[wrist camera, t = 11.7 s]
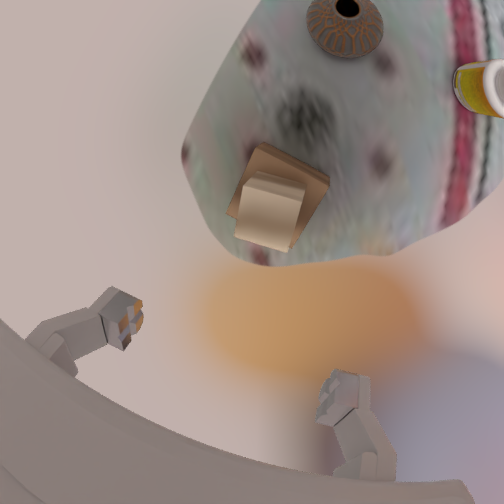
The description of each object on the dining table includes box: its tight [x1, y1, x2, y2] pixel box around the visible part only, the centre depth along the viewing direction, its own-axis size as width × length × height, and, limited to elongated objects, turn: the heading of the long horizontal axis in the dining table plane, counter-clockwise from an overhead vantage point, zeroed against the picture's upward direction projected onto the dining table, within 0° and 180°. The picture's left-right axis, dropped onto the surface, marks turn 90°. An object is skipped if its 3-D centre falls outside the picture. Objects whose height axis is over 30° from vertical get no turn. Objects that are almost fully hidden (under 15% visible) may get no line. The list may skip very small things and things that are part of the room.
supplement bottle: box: [453, 59, 504, 119], centre depth 16 cm, size 6×6×10 cm
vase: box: [307, 0, 383, 58], centre depth 18 cm, size 7×7×9 cm
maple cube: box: [234, 171, 307, 253], centre depth 27 cm, size 5×5×5 cm
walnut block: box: [226, 142, 330, 249], centre depth 31 cm, size 8×8×4 cm
